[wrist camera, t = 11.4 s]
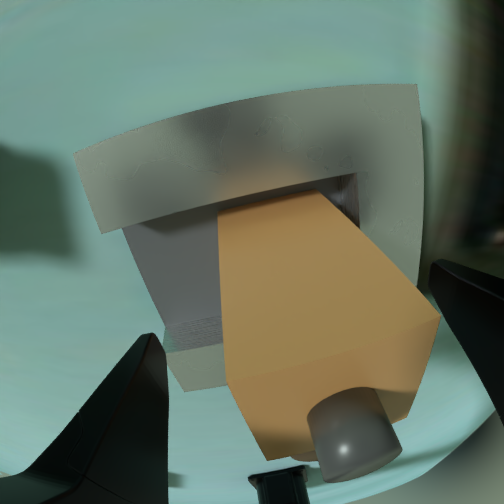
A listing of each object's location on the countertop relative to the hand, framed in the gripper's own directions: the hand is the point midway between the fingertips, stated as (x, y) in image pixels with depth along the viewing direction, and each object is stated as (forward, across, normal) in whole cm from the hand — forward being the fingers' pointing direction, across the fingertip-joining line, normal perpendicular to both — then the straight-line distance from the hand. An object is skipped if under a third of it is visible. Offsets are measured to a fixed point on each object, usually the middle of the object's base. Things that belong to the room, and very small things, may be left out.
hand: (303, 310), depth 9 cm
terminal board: (+5, 0, 0) cm, 5 cm away
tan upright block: (+4, 0, 0) cm, 5 cm away
